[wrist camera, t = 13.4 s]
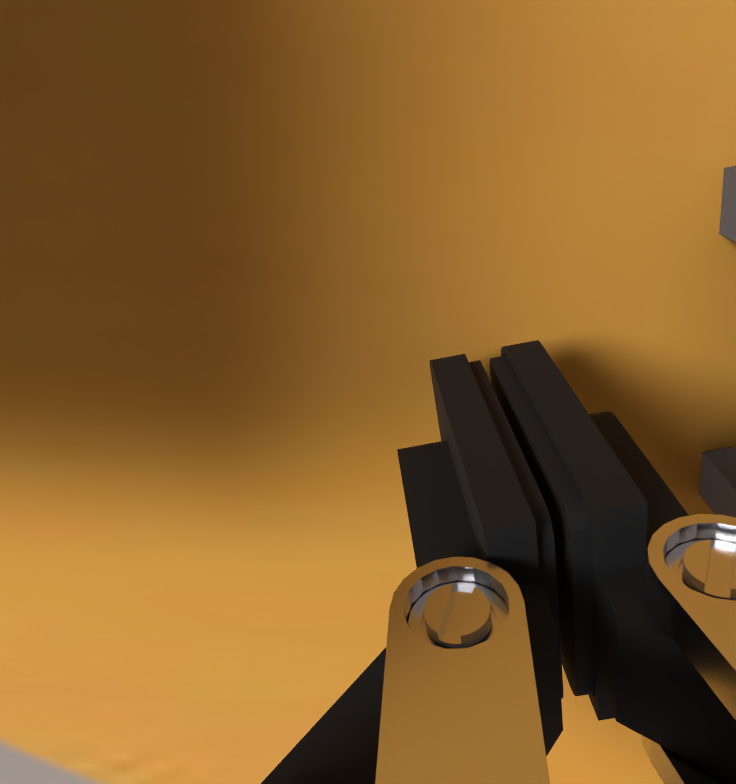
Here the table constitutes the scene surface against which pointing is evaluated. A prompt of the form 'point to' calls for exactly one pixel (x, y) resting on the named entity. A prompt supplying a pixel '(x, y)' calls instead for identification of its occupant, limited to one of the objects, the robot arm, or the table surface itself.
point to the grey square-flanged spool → (729, 465)
